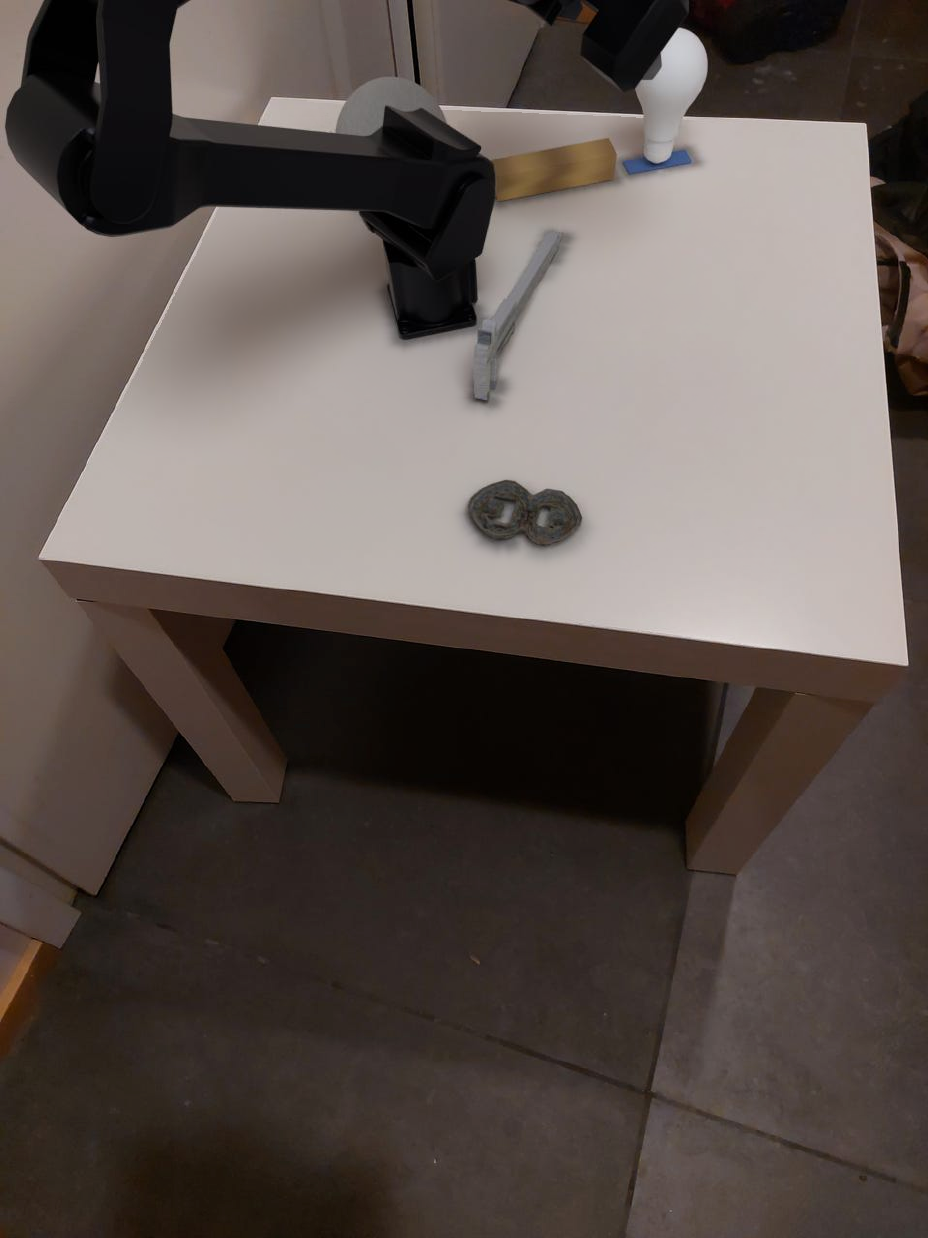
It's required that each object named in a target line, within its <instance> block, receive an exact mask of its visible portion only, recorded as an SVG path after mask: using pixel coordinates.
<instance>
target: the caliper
mask: <svg viewBox="0 0 928 1238" xmlns="http://www.w3.org/2000/svg"><path fill="white" fill-rule="evenodd" d="M563 236H564V232H561V231H557V230H548V231H547V232H546V234H545V236H544V237H543V239H542V241H541V242H540V244H539V246H538V247H537V249H536V250H535V252H534V254H533V256H532V257H531V259H530V260H529V262H528V263H527V265H526V267H525V268H524V270H523V272H522V273H521V275H520V276H519V278H518V279H517V281H516V283H515V285H514V286H513V288H512V290H511V291H510V293H509V295H508V296H507V298H503V299H502V301H501V302H500V304H499V306H498V308H497V309H496V311H494V314H493V316H491V319H485V318H483V320H482V325H481V327H478V328H477V339H476V341H477V342H476V343H475V345H474V353H473V367H472V368H473V369H472V375H473V393H474V398H475V399H480V400H483V401H489V400H490V390H495V389H496V387H497V381H498V374H499V369H500V361H501V355H502V349H503V347H504V346H506V345H507V344H508V343H509V341H510V339H511V337H512V335H514V333H515V327H516V322H517V319H518V318H519V317H520V314H521V312H522V311H523V309H524V308H525V306H526V305H527V302H528V301H529V299H530V297H531V295H532V294H533V292H534V291H535V289H536V287H537V285H538V284H539V282H540V281H541V279H542V277H543V275H544V273H545V272H546V270H547V269H548V267H549V265H550V264H551V262H552V261H553V259H554V257H555V255H556V253H557V252H558V250H559V245H560V242H561V240H562V238H563Z"/></svg>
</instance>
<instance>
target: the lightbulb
mask: <svg viewBox="0 0 928 1238" xmlns="http://www.w3.org/2000/svg"><path fill="white" fill-rule="evenodd" d="M707 54H708V53H707V51H706V49H705V46H704V44H703V43H702V41H701V40H700V38H699V37H698V36H697V35H696V34H695V33H693V32H692V31H691V30H689V29H686V28H683V27H679V28H678V29H677V31H676V32H675V33H674V35H673V36H672V38H671V39H670V40H669V42H668V43H667V45H666V46H665V48H664V49H663V50H662V52H661V61H662V67H661V69H660V70H659V72H658V73H657V75H656V76H655V77H654V79H653V80H641V81H640V83H639V84H638V86H637V87H636V88H635V93H636V96H637V99H638V102H639V103H640V106H641V109H642V115H643V118H642V119H643V127H642V128H643V129H642V132H643V135H644V140H643V157H646V159H648V160H649V161H651V162H652V163H655V164H657V163H660V162H663V161H666V160H667V159H668V158H669V157H670V156H671V153H672V152H673V148H674V144H675V139H676V138H677V136H678V134H679V132H680V128H681V124H682V121H683V118H684V116H685V115H686V113H687V111H688V109H689V108H690V107H691V105H692V104H693V103H694V102H695V100H696V99H697V97H698V96H699V94H700V93H701V92H702V90H703V87H704V84H705V82H706V80H707V76H708V65H709V64H708V55H707Z"/></svg>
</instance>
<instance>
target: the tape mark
mask: <svg viewBox="0 0 928 1238" xmlns="http://www.w3.org/2000/svg"><path fill="white" fill-rule="evenodd" d="M622 164H623V167H624V168H625V169H626V172H627V174H628V175H634V174H638V173H644V172H649V171H654V170H661V169H665V168H670V167H675V166H681V165H686V164H692V159H691V156H690V155H689V154H688V152H687V150H686V149H685V148H684V149H681V150H675V151H672V153H671V156H670V157H669V158H668V159H667V160H666V161H663V162H660V163H657V164H655V163H652V162H651V161H649V160H648V159H646V157H645V156H643V157H636V158H633V159H632V158H631V159H627V160H623V161H622Z"/></svg>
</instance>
